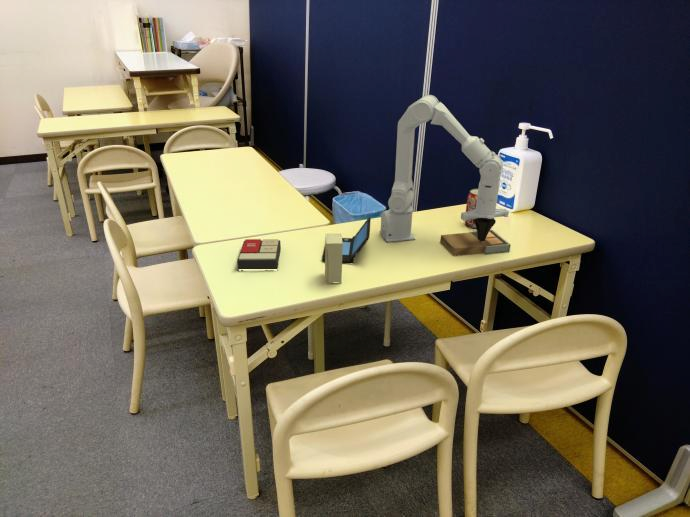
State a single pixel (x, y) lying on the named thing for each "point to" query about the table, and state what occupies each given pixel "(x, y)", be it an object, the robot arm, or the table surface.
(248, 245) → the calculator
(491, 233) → the tile
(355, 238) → the game console
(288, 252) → the table surface
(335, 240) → the skincare box
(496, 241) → the tile
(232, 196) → the table surface
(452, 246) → the shallow brown tray
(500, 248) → the box
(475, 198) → the soda can
